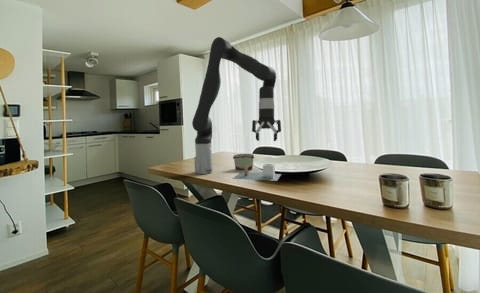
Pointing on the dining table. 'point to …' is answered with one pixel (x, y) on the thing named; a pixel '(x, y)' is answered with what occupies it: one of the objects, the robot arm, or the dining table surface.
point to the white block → (268, 170)
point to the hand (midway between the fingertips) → (266, 140)
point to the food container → (243, 161)
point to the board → (254, 176)
